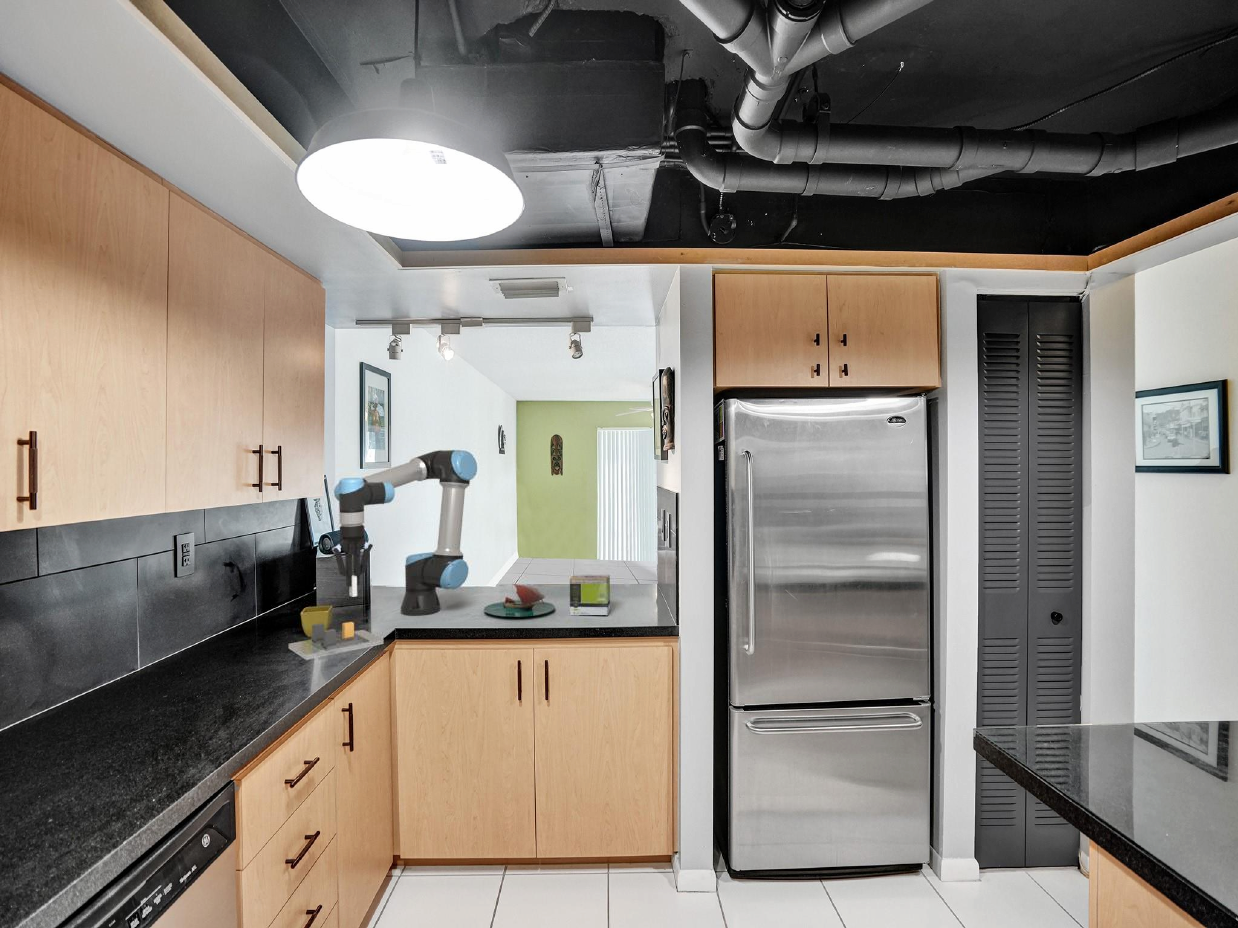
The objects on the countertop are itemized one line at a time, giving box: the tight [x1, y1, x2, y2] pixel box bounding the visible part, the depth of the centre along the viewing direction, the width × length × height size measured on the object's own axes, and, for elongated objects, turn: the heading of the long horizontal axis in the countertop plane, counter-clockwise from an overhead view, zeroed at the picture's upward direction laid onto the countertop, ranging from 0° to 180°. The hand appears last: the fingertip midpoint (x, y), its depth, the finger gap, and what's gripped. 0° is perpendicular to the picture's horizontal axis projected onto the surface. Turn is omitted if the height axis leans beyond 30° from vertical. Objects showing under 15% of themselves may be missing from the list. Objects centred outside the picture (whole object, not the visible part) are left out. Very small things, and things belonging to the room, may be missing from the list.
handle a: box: [312, 623, 324, 641], centre depth 205 cm, size 3×2×5 cm, turn 134°
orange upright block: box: [341, 621, 355, 639], centre depth 207 cm, size 3×2×5 cm, turn 134°
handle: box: [324, 628, 337, 648], centre depth 198 cm, size 3×2×5 cm, turn 134°
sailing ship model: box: [483, 583, 556, 618], centre depth 251 cm, size 28×28×11 cm
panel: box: [288, 629, 384, 661], centre depth 204 cm, size 24×16×2 cm, turn 135°
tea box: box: [569, 574, 611, 616], centre depth 249 cm, size 15×10×15 cm
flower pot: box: [300, 605, 333, 638], centre depth 217 cm, size 9×9×9 cm
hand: (353, 595), depth 208 cm, fingers closed
